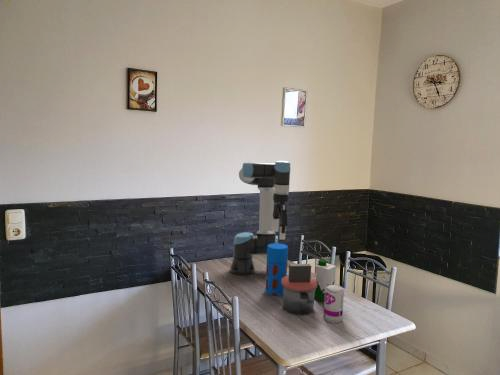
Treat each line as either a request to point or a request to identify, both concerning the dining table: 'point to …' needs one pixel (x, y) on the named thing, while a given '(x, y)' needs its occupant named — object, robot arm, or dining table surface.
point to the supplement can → (333, 303)
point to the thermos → (276, 268)
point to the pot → (298, 301)
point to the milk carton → (323, 278)
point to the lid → (299, 278)
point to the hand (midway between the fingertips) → (278, 235)
